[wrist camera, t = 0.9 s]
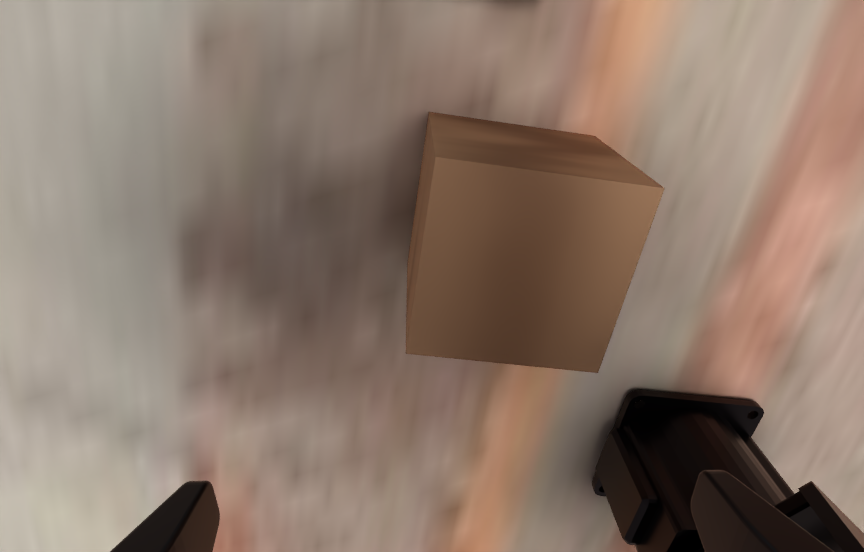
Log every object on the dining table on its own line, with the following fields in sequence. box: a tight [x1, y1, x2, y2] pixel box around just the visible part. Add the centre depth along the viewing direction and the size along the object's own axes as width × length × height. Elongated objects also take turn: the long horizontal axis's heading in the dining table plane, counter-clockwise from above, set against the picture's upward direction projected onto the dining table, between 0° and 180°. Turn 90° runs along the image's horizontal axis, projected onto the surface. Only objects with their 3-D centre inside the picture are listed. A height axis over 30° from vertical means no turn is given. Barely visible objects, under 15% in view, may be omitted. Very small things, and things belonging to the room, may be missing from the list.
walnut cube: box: [406, 112, 664, 373], centre depth 17 cm, size 6×6×6 cm
